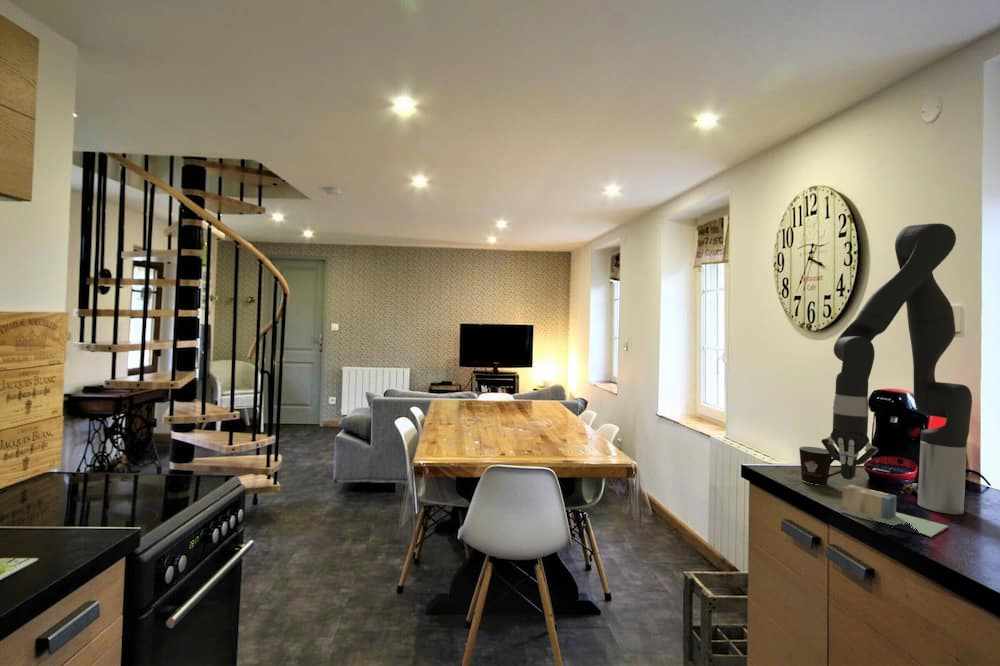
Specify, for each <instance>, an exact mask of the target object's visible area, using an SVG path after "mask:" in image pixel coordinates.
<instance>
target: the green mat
mask: <svg viewBox="0 0 1000 666" xmlns="http://www.w3.org/2000/svg"><path fill="white" fill-rule="evenodd" d="M860 514H861V515H862V514H863V515H864V514H865V515H866V516H868V517H871V518H873V520H875V521H878V522H882V523H886V524H889V525H893V526H894V525H897V524H901V523H902V524H903V525H904V524H905V523H906V522H907V523H908V524H909V523H910V526H911V525H912V526H911V528H912V527H913V529H915V528H916V529H917V530H918V532H919V533H922V534H925V535H927V536H929V537H932V536H934V535H936V534H937V535H939V534H940V533H942V532H944V531H945V530H947V529H948V527H949V525H947V524H944V523H943V524H942V523H939V522H935V521H932V520H931V521H930V520H928V519H925V518H921V517H915V516H911V515H908V514H906V513H905V514H904V513H901V512H897V511H896V516H894V517H893V518H891V519H889V520H888V519H884V518H880V517H877V516H873V515H869V514H866V513H862V512H860ZM907 523H906V524H907ZM946 528H947V529H946ZM916 529H915V530H916ZM944 529H945V530H944ZM941 531H942V532H941ZM939 532H940V533H939ZM938 533H939V534H938ZM937 535H936V536H937ZM934 537H935V536H934ZM932 538H933V537H932Z"/></svg>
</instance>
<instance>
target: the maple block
mask: <svg viewBox="0 0 1000 666" xmlns="http://www.w3.org/2000/svg"><path fill="white" fill-rule="evenodd" d="M841 498H842V499H841V507H842V508H844V507H846V508H845V509H847V508H849V509H852V510H855V511H859V512H862V513H866V514H869V515H873V516H877V517H880V518H884V519H888V520H889V519H891V518H893V517H894V516H896V512H897V495H895V494H891V493H886V492H883V491H877V490H873V489H869V488H866V487H862V486H857V485H852V484H849V485H846V486H843V487H842V497H841Z"/></svg>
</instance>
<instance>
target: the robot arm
mask: <svg viewBox="0 0 1000 666" xmlns="http://www.w3.org/2000/svg"><path fill="white" fill-rule="evenodd" d="M956 235H957V234H956V233H955V230H954V229H953V227H951V226H949V225H947V224H945V223H925V224H924V223H923V224H913V225H908V226H906V227H903V228H902V229H901V230H900V231H899V232H898V233H897V235H896V237H895V241H894V251H895V254H896V260H897V264H898V267H899V268H898V269H899V271H898V272H897V273H896V274H894V275H893V276H892V277H891V278H890V279H889V280H887V281H886V282H884V283H883V284H882V285H881V286H879V288H877V290H876V291H874V293H872V295H871V296H870V297H868V300H867V301H866V302H865V304H864V305H863V306H862V308H861V310H860V311H859V312H858V314H857V316H856V317H855V319H854V320H853V321H852V322H851V323H850V324H849V325H848V326H847V327H846V328H845V329H844V330H843V332H842V333H841V334H840V335H839V336H838V337H837V339H836V341H835V343H834V346H833V352H834V353H833V354H834V355H835V357H836V358H837V359H838V360H840V361H841V362H842V363H841V364H842V365H841V370H840V372H838V373H837V375H836V378H835V391H834V392H835V395H834V399H833V406H832V411H833V412H832V431H831V433H830V436H828V437H826V438H822V439H821V443H822V444H823V447H824V449H827V451H828V452H829V453H830V455H831V456H832V459H834V461H836V462H837V461H838V462H839V463H840V471H841V473H840V475H841V476H842V478H843V479H844V480H848V481H851V480H853V479H854V478H855V477H856V470H857V469H856V468H857V466H860V465H863V464H865V463H867V461H868V460H870V459H871V458H873V456H875V455H876V454H877V453H878V452H879V451H880V450H879V449H880V448H879V447H876V446H875V445H872V444H871V443H870V438H869V436H868V432H869V431H868V430H869V428H868V427H869V409H870V407H869V406H870V404H869V378H870V375H871V372H872V369H873V365H874V361H875V356H876V355H875V354H876V353H875V348H874V347H875V346H874V345H873V343H872V341H873V340H874V339H875V337H877V336H878V335H881V334H883V333H884V332H885V331H886V330H887V328H888V327H889V326H890V324H891V323H892V322H893V321H894V318H895V317H896V316H897V314H898V313H899V311H900V310H901V308H902V307H903V306H904V304H905V303H906V304H905V306H906V315H907V324H908V325H907V326H908V332H909V336H910V337H909V339H910V344H911V354H912V364H913V366H912V367H913V368H912V369H913V371H912V372H913V400H914V405H915V408H916V410H917V411H918V412H919V413H920V414H921V415H925V416H930V417H936V418H945V424H944V425H942V426H939V427H934V428H928V429H923V430H922V431H921V432H920V441H919V442H920V444H919V445H920V446H919V468H918V469H919V470H918V484H919V486H918V493H917V505H918V506H920V507H921V508H924V509H927V510H930V511H933V512H937V513H943V514H948V515H949V514H950V515H963V514H964V513H965V512H964V509H965V506H964V505H965V491H966V469H967V447H968V446H967V444H968V439H969V438H968V437H969V433H970V423H971V416H972V415H971V414H972V407H973V396H972V391H971V389H970V388H969V387H968V386H967V385H965V384H961V383H960V384H959V383H952V382H940V381H936V377H935V372H936V366H937V364H938V362H939V360H940V358H942V355H943V354H944V353H945V352H946V350H947V349H948V348H949V346H950V345H951V343H952V342H953V340H954V339H955V336H956V322H955V315H954V309H953V306H952V304H951V302H950V300H949V299H948V298H947V295H945V293H944V292H943V290H942V289H941V287H940V286H939V284H938V282H937V281H936V279H935V277H934V276H935V275H934V273H933V272H934V271H935V269H936V268H937V267H939V266H940V265H941V263H942V262H943V261H945V259H947V257H948V256H949V255H950V254H951V252H952V251H953V249H954V247H955V245H956V241H957V236H956ZM834 444H835V445H834ZM836 447H837V448H836ZM864 448H865V449H864ZM863 449H864V451H865V452H864V453H863V454H861V456H860V457H859V455H860V453H859V452H861V451H862V450H863Z"/></svg>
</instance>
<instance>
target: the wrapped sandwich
mask: <svg viewBox="0 0 1000 666" xmlns="http://www.w3.org/2000/svg"><path fill="white" fill-rule="evenodd" d="M918 486H919V483H917V482H916V483H915V482H913V483H911V484H905V483H904V484H903V490H905V491H906V492H905V493H910V494H911V495H912V493H914V492H915V493H916V494H918ZM901 492H902V493H904V492H903V491H901ZM902 493H901V494H902Z"/></svg>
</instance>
